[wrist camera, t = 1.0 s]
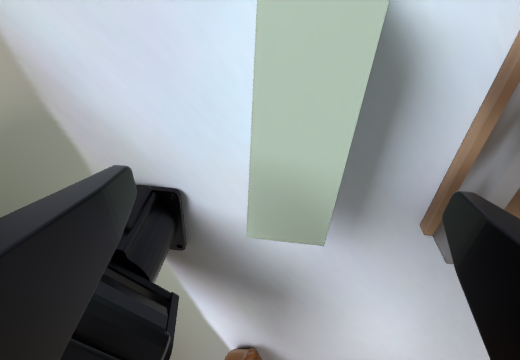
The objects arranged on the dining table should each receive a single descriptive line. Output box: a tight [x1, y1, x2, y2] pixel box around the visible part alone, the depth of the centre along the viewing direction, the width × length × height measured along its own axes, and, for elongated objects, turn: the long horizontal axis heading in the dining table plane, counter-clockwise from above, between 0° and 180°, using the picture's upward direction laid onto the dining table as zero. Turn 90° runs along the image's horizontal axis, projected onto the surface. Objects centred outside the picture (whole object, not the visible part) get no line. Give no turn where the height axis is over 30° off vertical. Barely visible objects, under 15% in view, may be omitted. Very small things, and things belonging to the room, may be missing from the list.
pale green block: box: [246, 0, 389, 246], centre depth 15 cm, size 12×4×7 cm, turn 177°
